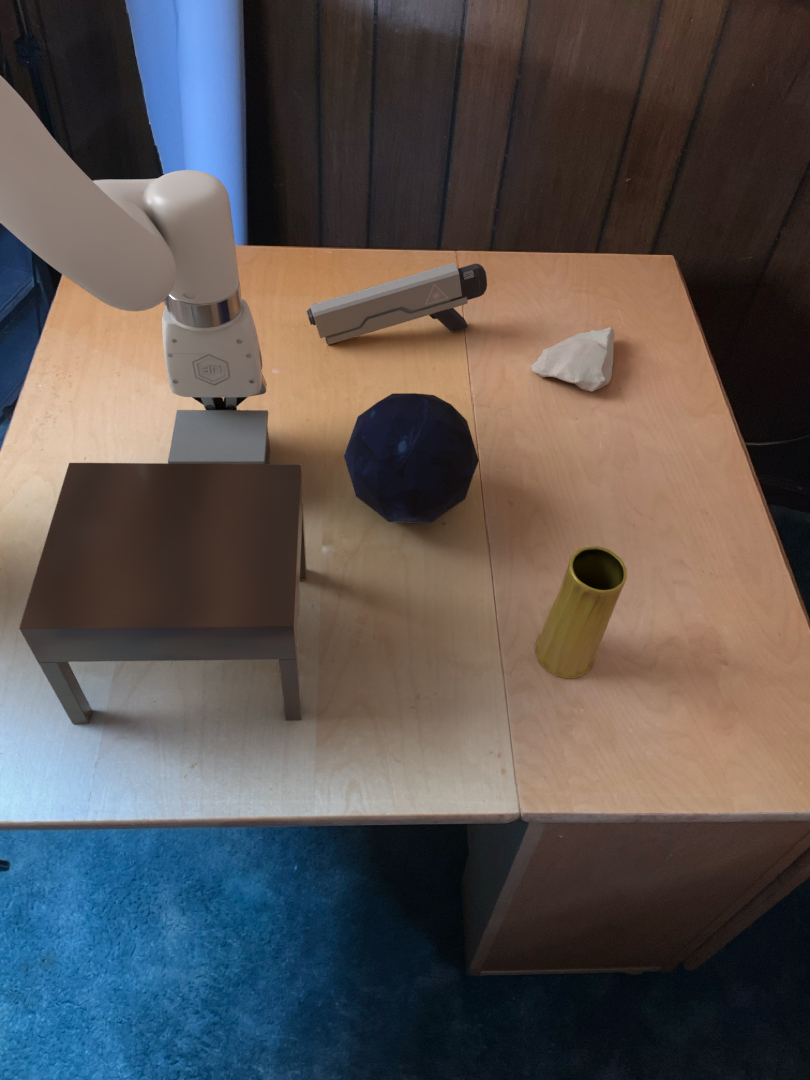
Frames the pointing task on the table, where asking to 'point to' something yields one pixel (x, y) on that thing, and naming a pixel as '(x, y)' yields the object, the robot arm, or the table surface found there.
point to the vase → (581, 612)
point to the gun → (400, 302)
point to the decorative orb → (411, 457)
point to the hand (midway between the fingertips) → (226, 428)
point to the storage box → (220, 437)
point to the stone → (580, 359)
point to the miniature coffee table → (170, 571)
